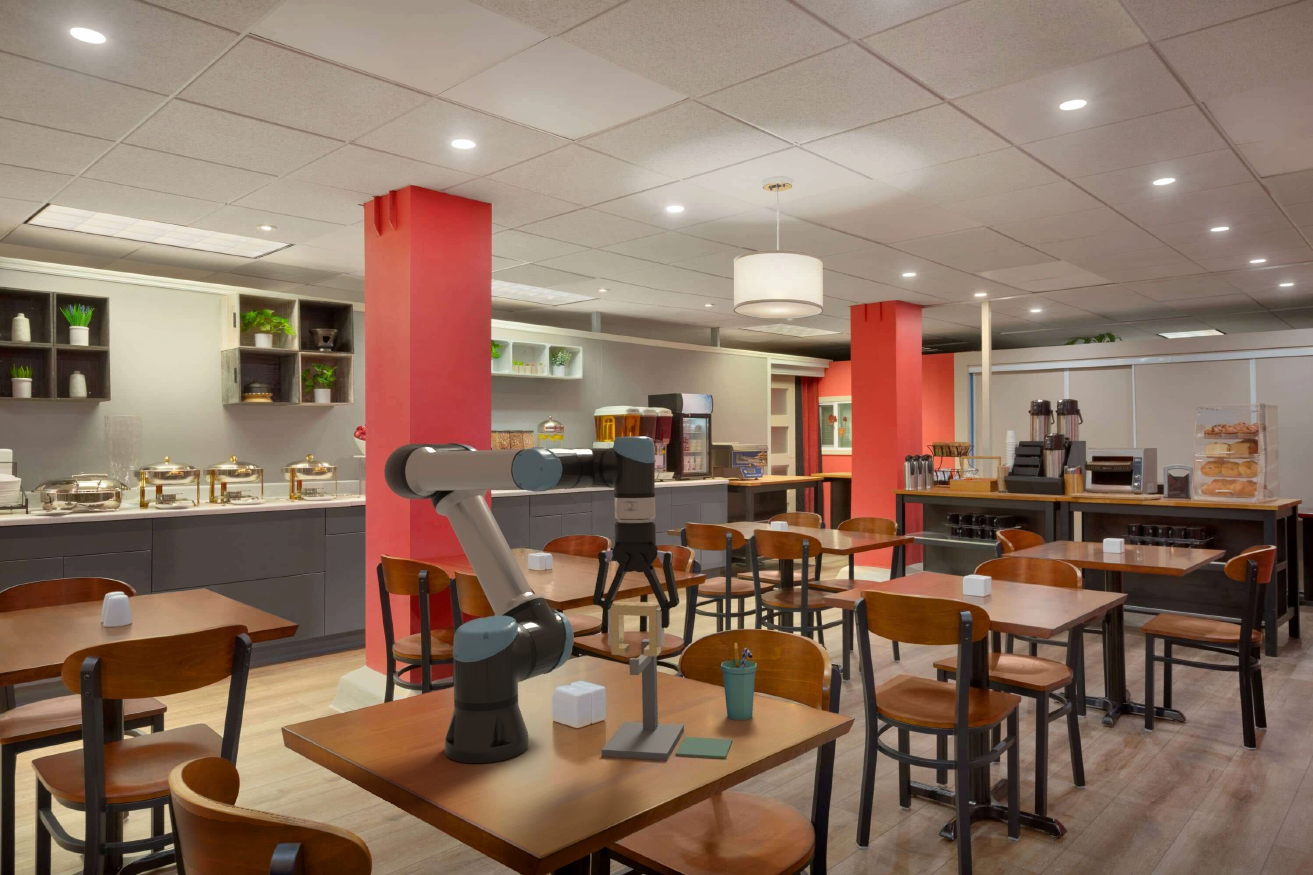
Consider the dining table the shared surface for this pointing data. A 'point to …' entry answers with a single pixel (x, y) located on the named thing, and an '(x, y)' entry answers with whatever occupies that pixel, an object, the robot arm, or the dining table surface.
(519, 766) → the dining table surface
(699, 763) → the dining table surface
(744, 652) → the cup
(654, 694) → the stand
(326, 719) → the dining table surface
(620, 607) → the c link
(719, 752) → the mat
